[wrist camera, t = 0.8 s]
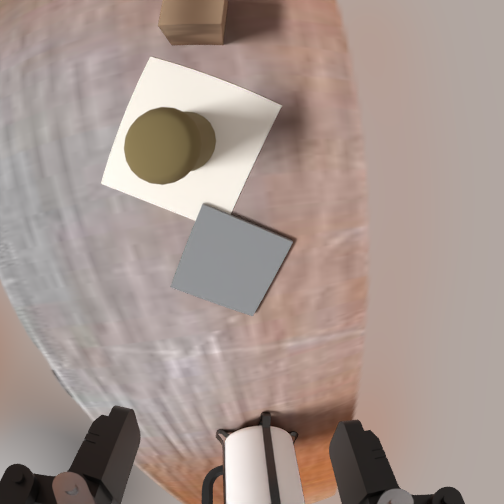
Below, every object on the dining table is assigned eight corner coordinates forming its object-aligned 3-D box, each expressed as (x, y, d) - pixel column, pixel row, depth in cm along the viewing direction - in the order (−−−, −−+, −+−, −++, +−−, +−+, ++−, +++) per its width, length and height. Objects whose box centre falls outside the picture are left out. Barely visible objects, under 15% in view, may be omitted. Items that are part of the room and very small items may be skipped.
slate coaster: (171, 284, 32) (170, 287, 31) (202, 202, 28) (202, 204, 28) (252, 313, 34) (252, 316, 33) (291, 240, 31) (292, 242, 30)
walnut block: (171, 45, 22) (157, 25, 16) (178, 5, 20) (167, -21, 14) (223, 45, 22) (221, 24, 17) (227, 4, 20) (227, -22, 15)
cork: (216, 110, 25) (207, 95, 15) (215, 171, 27) (206, 194, 17) (154, 113, 24) (110, 103, 14) (155, 173, 27) (113, 197, 17)
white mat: (102, 182, 27) (100, 183, 27) (151, 57, 22) (150, 56, 22) (222, 230, 30) (222, 231, 30) (281, 106, 25) (281, 105, 25)
